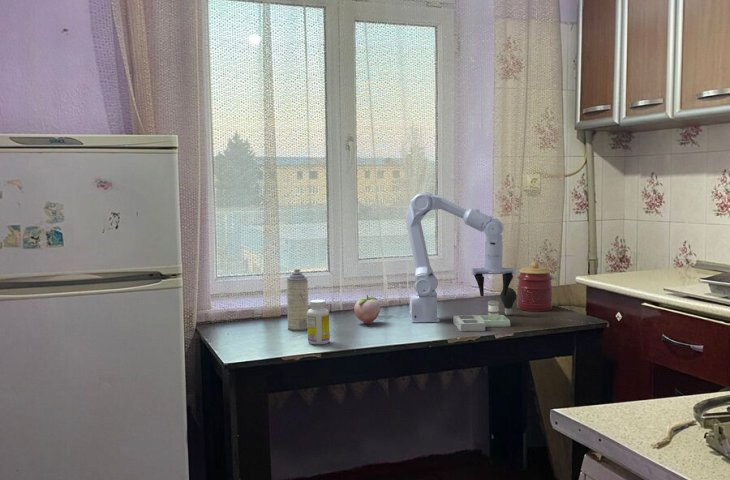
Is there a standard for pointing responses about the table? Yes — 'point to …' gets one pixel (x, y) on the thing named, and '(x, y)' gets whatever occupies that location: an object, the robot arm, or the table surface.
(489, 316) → the fuse
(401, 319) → the table surface
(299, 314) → the aerosol can
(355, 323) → the table surface
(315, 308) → the supplement bottle
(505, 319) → the parts tray
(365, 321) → the decorative fruit
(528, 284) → the canister
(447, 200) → the robot arm
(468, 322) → the gray rectangular frame
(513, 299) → the light bulb
